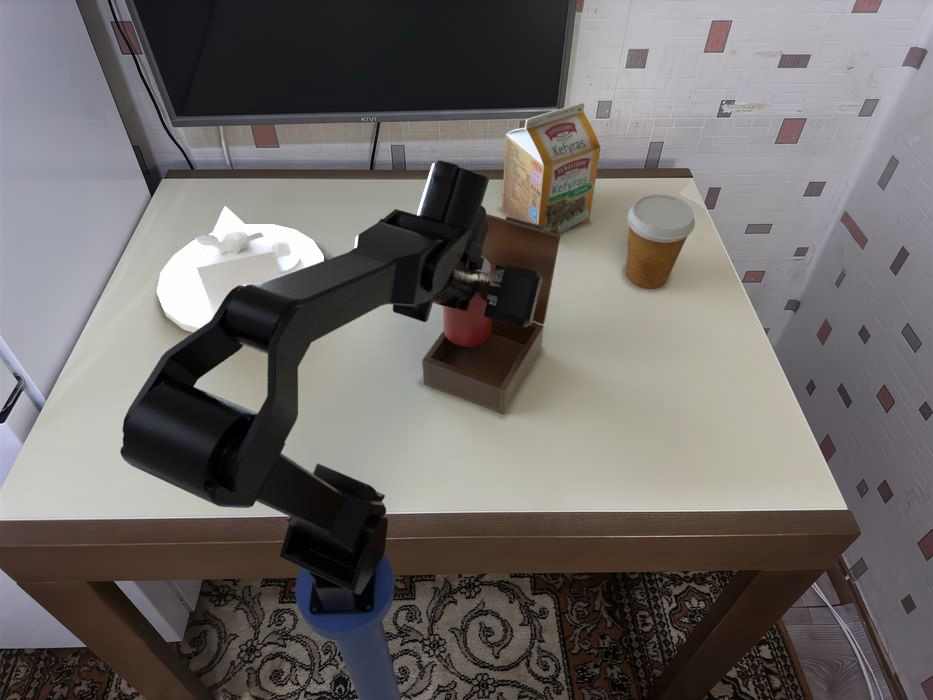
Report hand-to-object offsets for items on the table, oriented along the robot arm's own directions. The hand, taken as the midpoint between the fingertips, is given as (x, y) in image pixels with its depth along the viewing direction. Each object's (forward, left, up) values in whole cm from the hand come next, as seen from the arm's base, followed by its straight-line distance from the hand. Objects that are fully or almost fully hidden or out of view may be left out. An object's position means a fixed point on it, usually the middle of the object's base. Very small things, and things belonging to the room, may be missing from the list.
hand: (471, 288), depth 84 cm
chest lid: (+4, -5, -1) cm, 7 cm away
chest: (-2, -2, -12) cm, 13 cm away
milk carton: (+32, -14, -13) cm, 37 cm away
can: (-1, 0, -6) cm, 6 cm away
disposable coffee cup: (+16, -28, -13) cm, 34 cm away
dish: (+17, +34, -13) cm, 40 cm away
